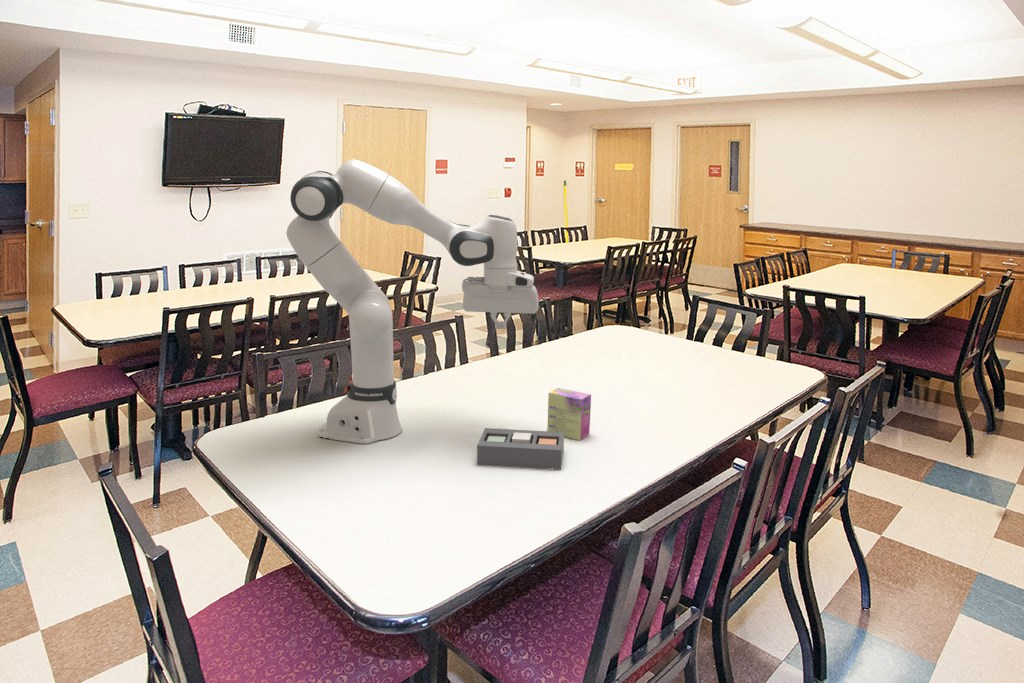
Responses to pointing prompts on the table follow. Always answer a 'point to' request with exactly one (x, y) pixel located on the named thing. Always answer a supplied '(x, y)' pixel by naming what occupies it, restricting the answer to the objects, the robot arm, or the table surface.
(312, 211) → the robot arm
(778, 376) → the table surface
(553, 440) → the key terracotta
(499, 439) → the key sage
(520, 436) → the key grey
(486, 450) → the keyboard
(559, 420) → the box
